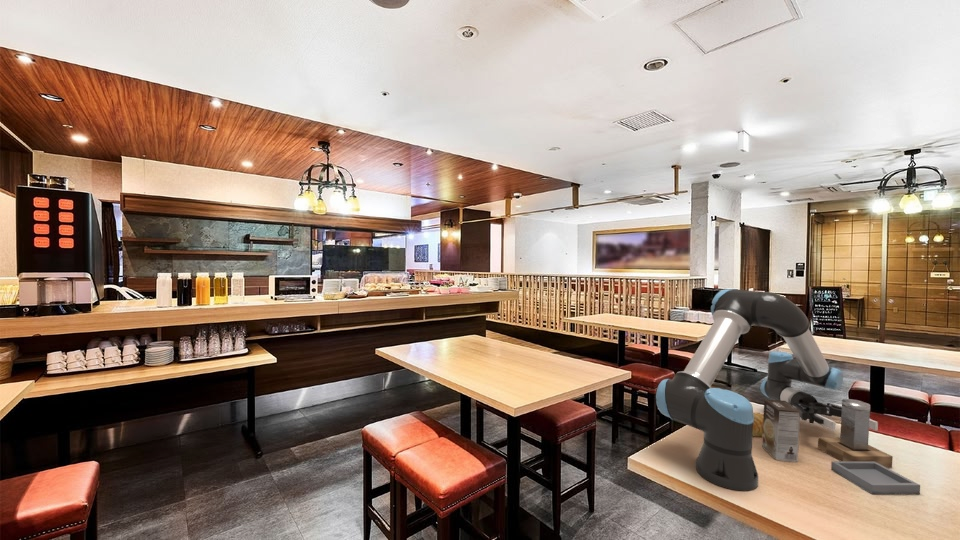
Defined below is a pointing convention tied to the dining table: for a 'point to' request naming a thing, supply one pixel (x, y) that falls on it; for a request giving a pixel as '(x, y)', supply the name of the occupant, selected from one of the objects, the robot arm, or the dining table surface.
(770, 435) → the coffee box
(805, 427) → the dining table surface
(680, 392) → the robot arm
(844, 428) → the pin
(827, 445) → the block
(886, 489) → the tray
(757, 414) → the croissant
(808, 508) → the dining table surface
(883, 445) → the dining table surface
